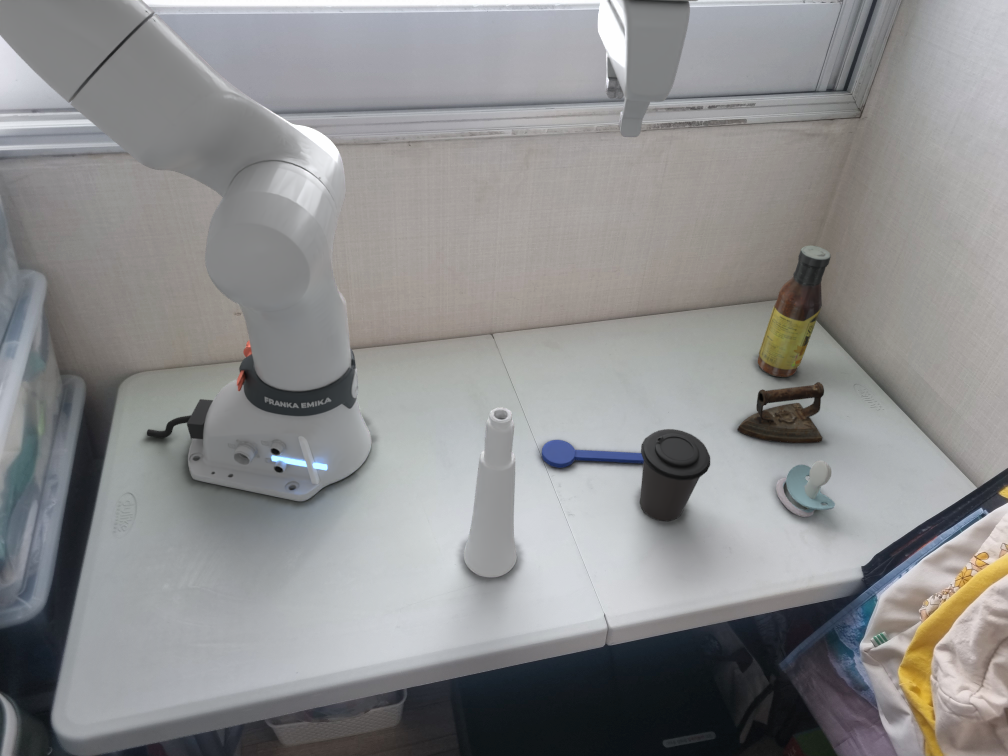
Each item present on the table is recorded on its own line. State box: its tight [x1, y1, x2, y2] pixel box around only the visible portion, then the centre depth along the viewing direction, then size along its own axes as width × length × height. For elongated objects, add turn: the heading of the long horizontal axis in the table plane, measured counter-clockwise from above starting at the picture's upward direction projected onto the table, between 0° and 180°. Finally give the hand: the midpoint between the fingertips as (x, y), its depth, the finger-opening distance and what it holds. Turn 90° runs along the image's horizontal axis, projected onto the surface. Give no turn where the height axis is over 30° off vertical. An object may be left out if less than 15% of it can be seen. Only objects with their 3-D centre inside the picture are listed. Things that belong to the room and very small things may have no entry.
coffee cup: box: [639, 428, 711, 522], centre depth 92 cm, size 8×8×10 cm
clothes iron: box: [736, 381, 825, 444], centre depth 104 cm, size 7×11×10 cm, turn 101°
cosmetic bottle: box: [463, 406, 518, 579], centre depth 80 cm, size 6×6×22 cm
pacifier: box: [775, 460, 836, 518], centre depth 95 cm, size 7×6×6 cm
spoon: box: [541, 439, 644, 469], centre depth 100 cm, size 16×4×1 cm, turn 90°
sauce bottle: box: [757, 245, 832, 378], centre depth 111 cm, size 6×6×20 cm
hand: (620, 114), depth 73 cm, fingers open, 8 cm apart
